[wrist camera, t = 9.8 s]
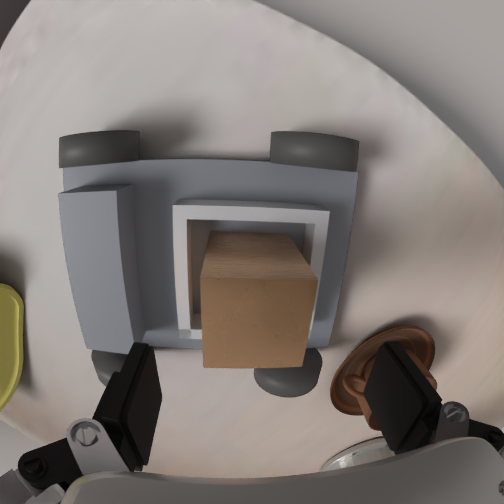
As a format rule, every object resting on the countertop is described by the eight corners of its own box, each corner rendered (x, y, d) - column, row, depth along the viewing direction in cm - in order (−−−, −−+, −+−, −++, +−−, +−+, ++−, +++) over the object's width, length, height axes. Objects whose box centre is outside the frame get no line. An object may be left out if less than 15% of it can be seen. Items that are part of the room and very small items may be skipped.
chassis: (351, 144, 19) (388, 145, 14) (319, 352, 24) (336, 393, 20) (73, 140, 17) (32, 141, 12) (99, 345, 23) (79, 383, 18)
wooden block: (287, 233, 19) (318, 279, 12) (280, 301, 21) (301, 366, 14) (210, 231, 18) (200, 277, 12) (209, 300, 20) (203, 367, 14)
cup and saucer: (316, 410, 28) (329, 453, 22) (338, 323, 24) (364, 369, 18) (405, 393, 29) (427, 427, 23) (439, 311, 25) (473, 344, 19)
